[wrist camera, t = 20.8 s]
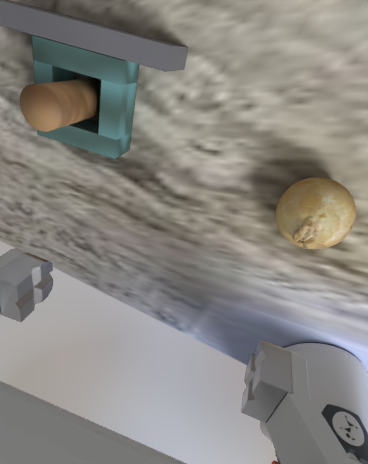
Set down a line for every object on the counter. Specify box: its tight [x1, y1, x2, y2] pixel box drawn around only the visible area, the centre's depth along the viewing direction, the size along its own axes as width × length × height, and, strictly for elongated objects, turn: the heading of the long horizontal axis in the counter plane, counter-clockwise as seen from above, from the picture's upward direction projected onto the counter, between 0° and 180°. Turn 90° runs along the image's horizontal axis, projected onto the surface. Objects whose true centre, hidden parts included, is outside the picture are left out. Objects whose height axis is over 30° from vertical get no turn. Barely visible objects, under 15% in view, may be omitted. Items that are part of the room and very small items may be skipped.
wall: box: [0, 0, 188, 72], centre depth 29 cm, size 2×20×6 cm, turn 78°
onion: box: [275, 177, 356, 250], centre depth 32 cm, size 8×8×7 cm
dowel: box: [20, 78, 101, 132], centre depth 31 cm, size 4×4×10 cm
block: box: [32, 35, 139, 159], centre depth 34 cm, size 10×10×4 cm
